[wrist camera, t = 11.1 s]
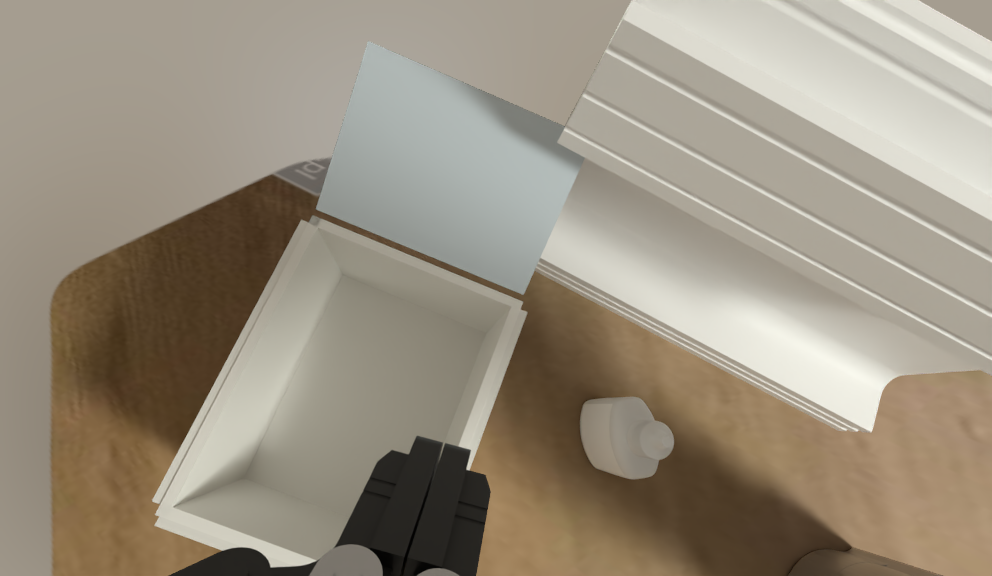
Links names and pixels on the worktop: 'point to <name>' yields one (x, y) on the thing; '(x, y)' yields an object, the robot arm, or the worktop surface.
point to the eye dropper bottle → (624, 437)
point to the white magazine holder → (789, 193)
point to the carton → (334, 392)
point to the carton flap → (448, 170)
